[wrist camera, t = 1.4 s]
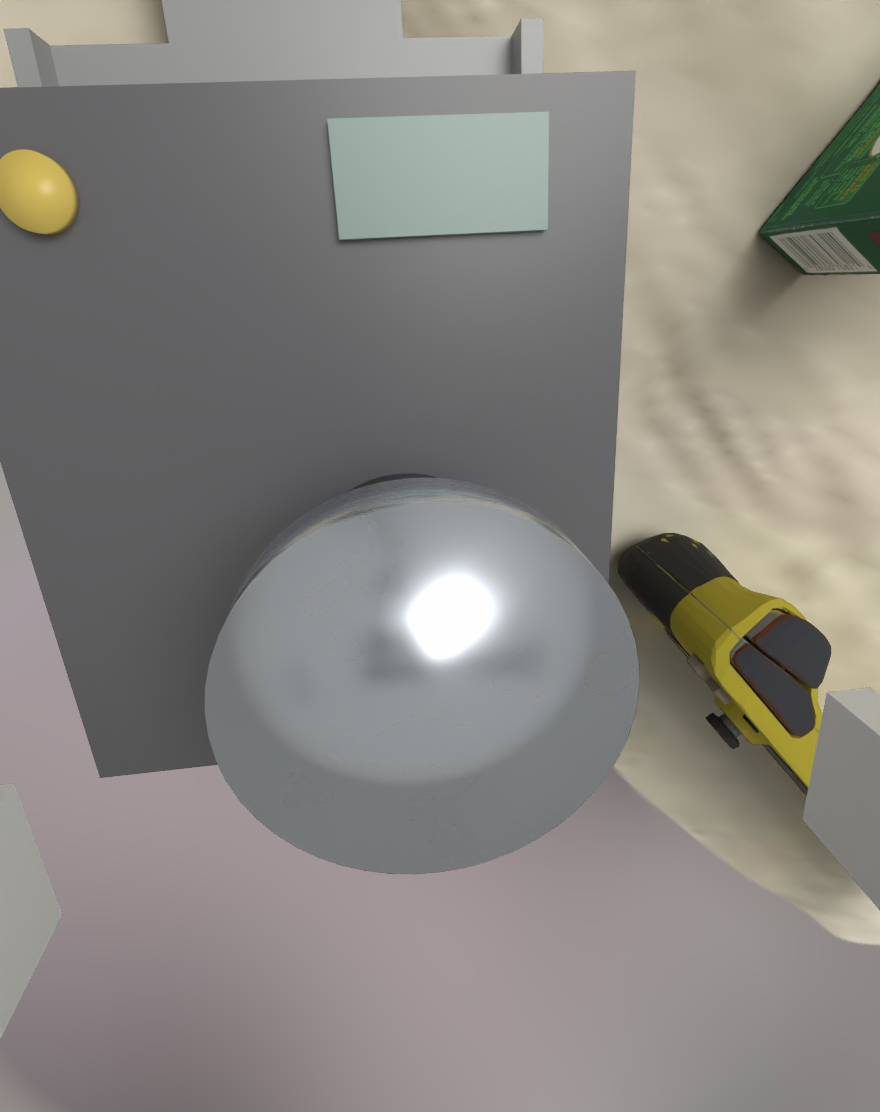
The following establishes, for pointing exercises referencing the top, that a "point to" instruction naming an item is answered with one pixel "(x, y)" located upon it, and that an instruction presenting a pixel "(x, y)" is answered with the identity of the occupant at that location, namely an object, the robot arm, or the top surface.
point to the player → (290, 339)
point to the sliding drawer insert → (275, 47)
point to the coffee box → (836, 204)
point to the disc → (420, 678)
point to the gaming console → (737, 647)
